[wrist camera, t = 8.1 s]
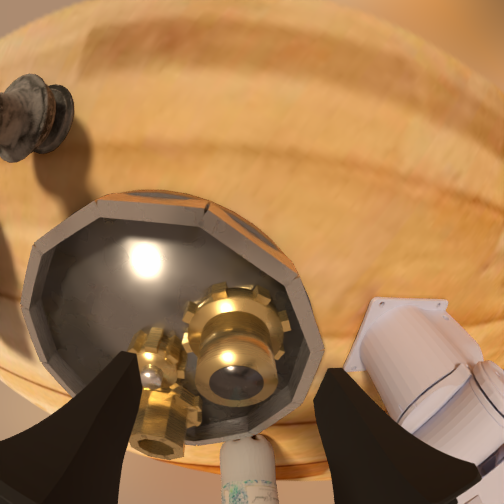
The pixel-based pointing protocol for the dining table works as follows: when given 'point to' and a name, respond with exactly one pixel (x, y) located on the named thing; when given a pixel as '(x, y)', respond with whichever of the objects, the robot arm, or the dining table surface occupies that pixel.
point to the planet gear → (165, 421)
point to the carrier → (175, 307)
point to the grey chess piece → (33, 117)
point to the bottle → (248, 471)
